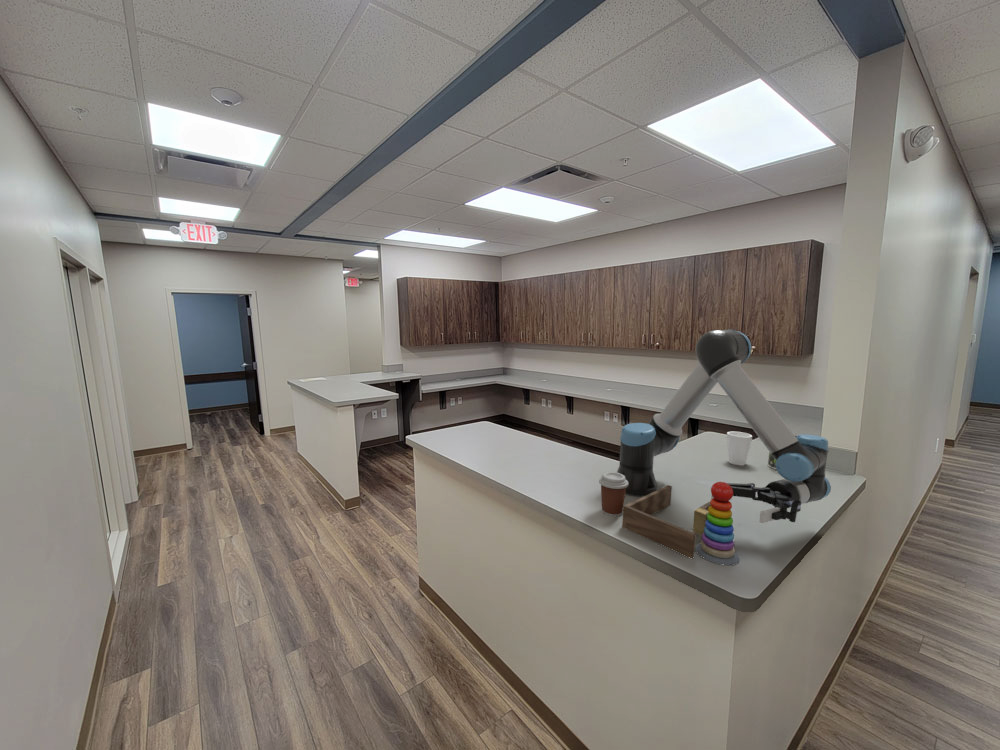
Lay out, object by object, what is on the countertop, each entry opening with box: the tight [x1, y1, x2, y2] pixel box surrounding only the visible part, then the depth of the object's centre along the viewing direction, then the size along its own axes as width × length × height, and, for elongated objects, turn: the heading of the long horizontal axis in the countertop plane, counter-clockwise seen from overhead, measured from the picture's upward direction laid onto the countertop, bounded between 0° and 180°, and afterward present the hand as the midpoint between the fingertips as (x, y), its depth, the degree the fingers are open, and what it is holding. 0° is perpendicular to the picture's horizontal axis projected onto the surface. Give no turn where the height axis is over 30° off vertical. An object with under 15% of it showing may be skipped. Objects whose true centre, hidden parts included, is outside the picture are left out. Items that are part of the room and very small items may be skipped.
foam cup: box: [726, 431, 753, 466], centre depth 175 cm, size 10×9×13 cm
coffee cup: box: [598, 471, 629, 517], centre depth 127 cm, size 9×9×12 cm
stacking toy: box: [700, 481, 736, 558], centre depth 104 cm, size 8×8×19 cm
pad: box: [695, 542, 740, 566], centre depth 104 cm, size 10×10×1 cm
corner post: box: [692, 507, 709, 536], centre depth 115 cm, size 3×3×6 cm
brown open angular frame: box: [621, 484, 711, 559], centre depth 118 cm, size 26×21×6 cm
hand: (735, 505), depth 105 cm, fingers open, 13 cm apart
